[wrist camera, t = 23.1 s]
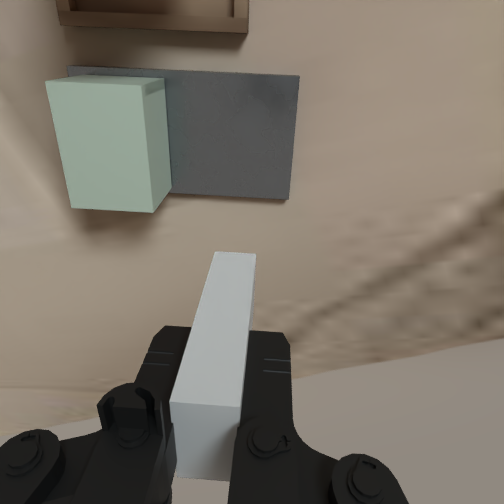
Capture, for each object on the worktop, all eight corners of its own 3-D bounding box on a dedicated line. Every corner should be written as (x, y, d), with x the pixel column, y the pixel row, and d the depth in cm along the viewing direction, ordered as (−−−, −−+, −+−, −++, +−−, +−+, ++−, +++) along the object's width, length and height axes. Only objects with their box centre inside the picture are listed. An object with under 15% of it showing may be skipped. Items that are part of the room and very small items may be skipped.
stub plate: (72, 65, 33) (51, 67, 30) (299, 75, 33) (301, 79, 30) (92, 184, 39) (76, 196, 36) (288, 195, 38) (289, 209, 35)
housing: (83, 74, 33) (44, 81, 27) (164, 78, 32) (141, 85, 27) (101, 183, 37) (71, 207, 32) (171, 187, 37) (153, 212, 32)
